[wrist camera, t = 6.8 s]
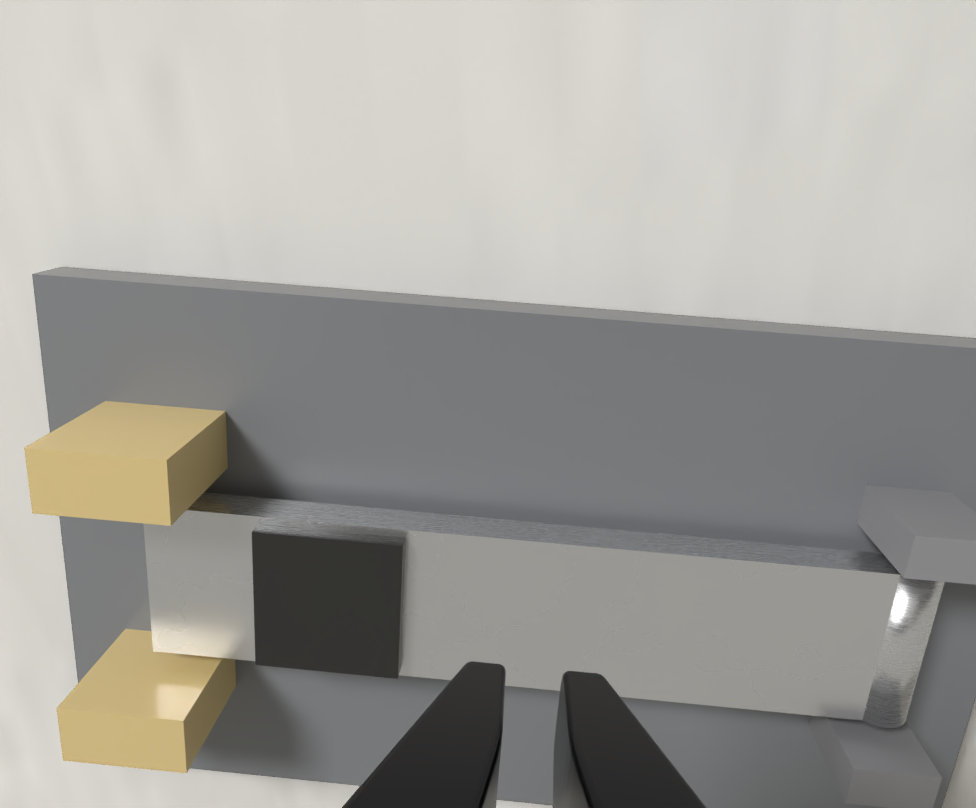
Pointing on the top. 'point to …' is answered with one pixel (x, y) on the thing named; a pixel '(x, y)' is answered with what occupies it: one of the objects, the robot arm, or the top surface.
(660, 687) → the strap
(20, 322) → the top surface
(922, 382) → the hinge plate
